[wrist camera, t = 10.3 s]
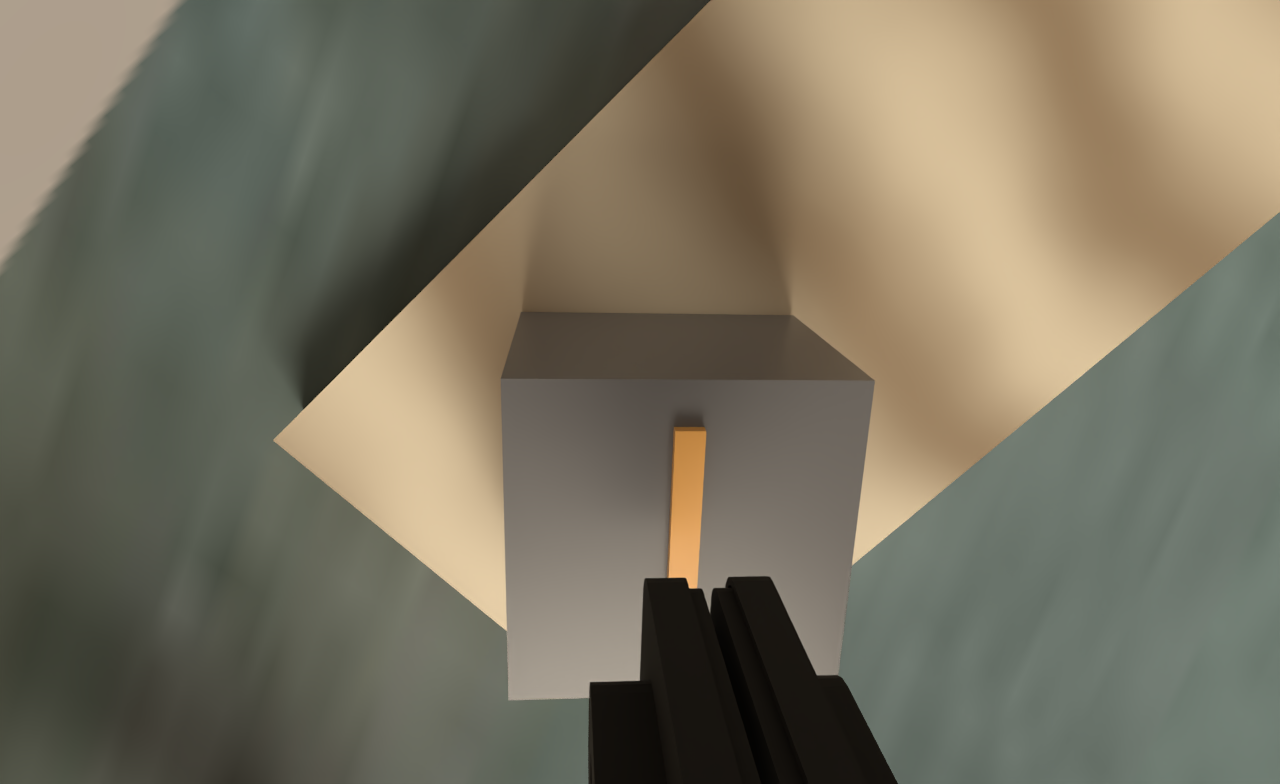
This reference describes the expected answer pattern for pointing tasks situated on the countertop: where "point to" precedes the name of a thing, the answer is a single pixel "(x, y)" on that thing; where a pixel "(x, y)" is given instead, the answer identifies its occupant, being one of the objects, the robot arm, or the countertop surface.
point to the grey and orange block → (671, 480)
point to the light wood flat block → (840, 233)
